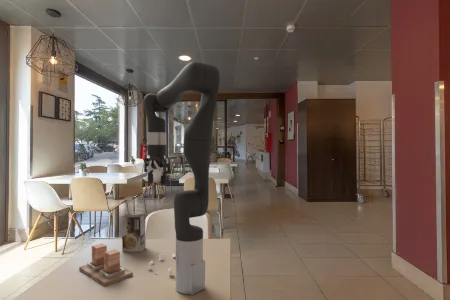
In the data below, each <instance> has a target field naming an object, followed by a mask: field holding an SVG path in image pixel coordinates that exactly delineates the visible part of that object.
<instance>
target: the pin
mask: <svg viewBox="0 0 450 300" xmlns="http://www.w3.org/2000/svg"><path fill="white" fill-rule="evenodd" d="M120 266H121V251H120V250H118V249H115V248H113V249H109V250H107V251H106V252H104V272H105V273H107V274H112V273H115V272H118V271H120Z"/></svg>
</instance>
